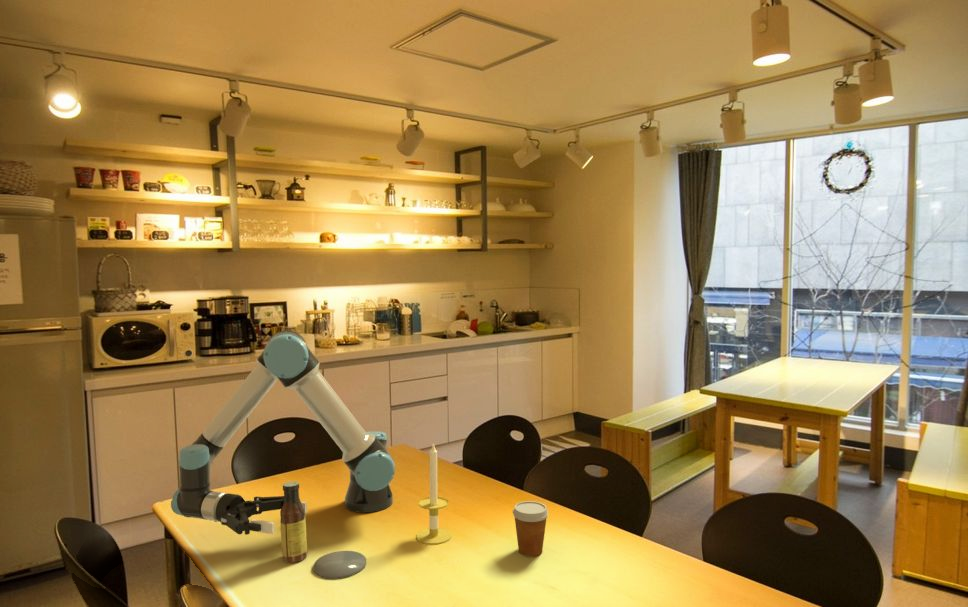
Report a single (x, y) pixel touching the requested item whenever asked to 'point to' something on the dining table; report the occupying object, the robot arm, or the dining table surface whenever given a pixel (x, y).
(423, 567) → the dining table surface
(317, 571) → the disc
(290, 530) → the sauce bottle
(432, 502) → the candle
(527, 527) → the disposable coffee cup
